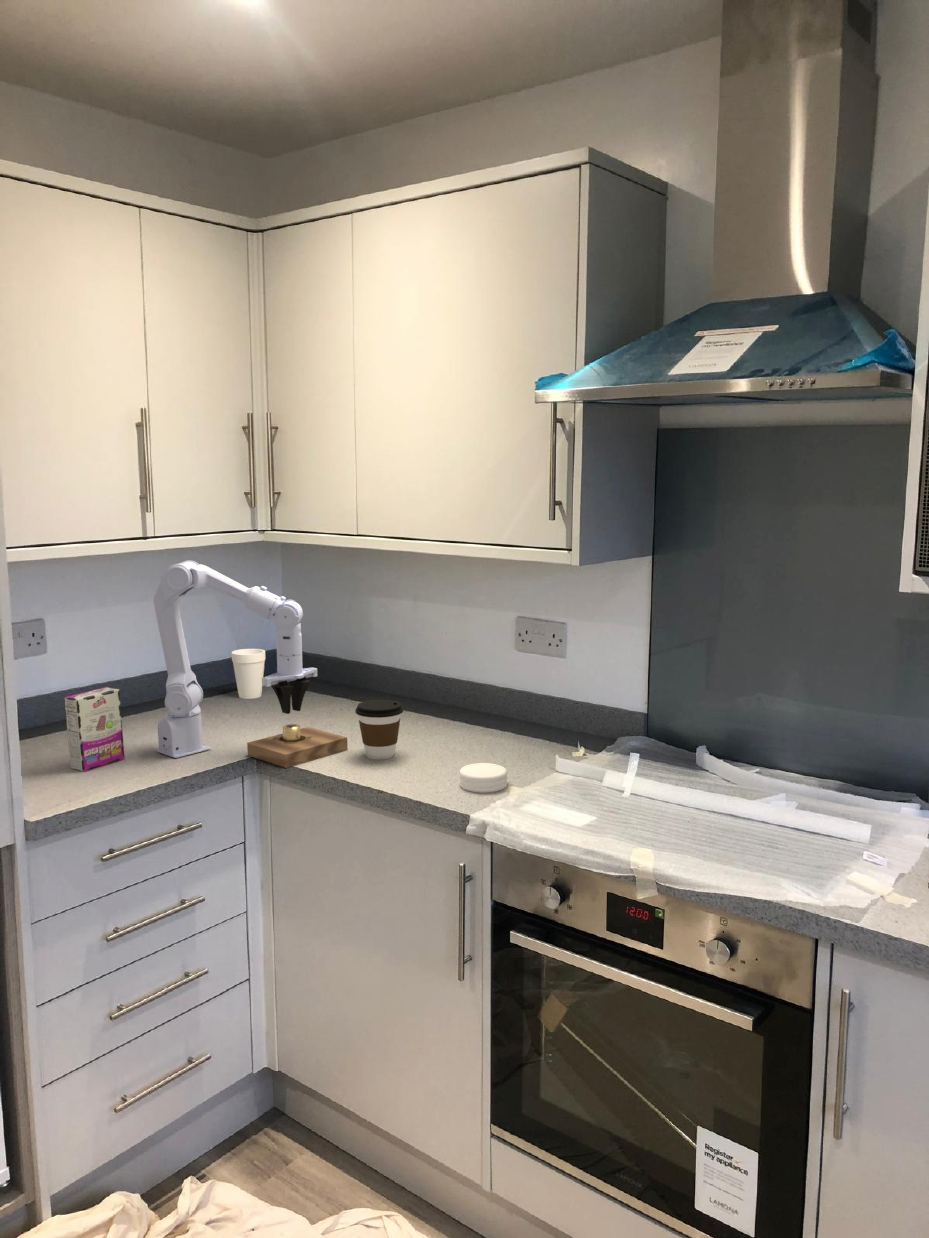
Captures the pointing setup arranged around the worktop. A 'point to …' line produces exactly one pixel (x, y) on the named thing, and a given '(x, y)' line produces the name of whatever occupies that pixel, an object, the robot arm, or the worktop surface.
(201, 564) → the robot arm
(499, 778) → the white round disc
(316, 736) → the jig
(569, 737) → the worktop surface
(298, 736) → the bushing
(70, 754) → the candy bar box
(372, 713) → the coffee cup
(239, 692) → the foam cup
